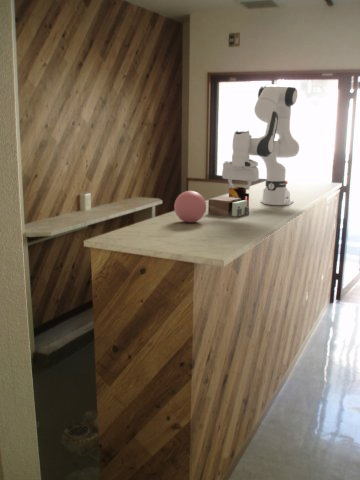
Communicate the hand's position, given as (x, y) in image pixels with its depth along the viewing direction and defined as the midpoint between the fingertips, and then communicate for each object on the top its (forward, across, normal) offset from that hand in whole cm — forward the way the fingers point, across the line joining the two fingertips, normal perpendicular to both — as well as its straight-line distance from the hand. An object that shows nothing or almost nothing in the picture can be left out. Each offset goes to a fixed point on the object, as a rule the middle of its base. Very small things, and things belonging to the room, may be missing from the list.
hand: (239, 188), depth 257 cm
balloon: (+14, -8, -32) cm, 35 cm away
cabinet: (+14, -5, -1) cm, 15 cm away
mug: (+15, -8, +17) cm, 24 cm away
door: (+14, +1, -1) cm, 14 cm away
